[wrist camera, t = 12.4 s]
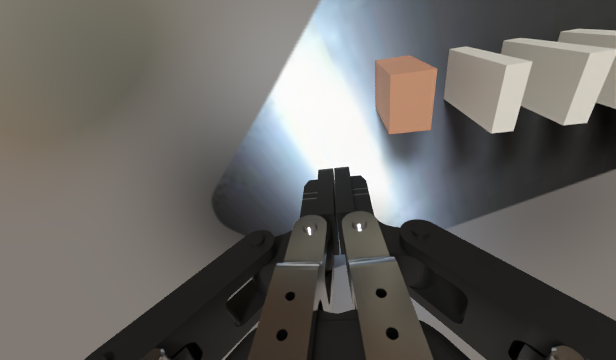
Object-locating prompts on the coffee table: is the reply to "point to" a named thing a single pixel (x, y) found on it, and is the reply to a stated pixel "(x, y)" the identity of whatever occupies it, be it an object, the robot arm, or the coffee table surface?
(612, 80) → the domino
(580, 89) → the domino
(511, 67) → the domino
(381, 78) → the domino
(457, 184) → the coffee table surface
